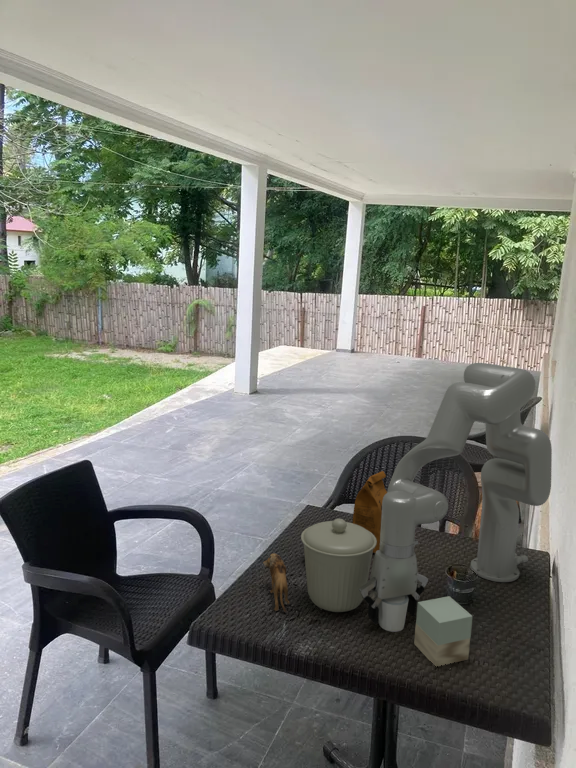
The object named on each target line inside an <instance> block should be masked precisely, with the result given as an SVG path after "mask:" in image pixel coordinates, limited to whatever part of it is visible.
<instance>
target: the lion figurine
mask: <svg viewBox="0 0 576 768" xmlns="http://www.w3.org/2000/svg"><path fill="white" fill-rule="evenodd" d="M262 563H263V565H264V567H265V569H267V570H268V569H269V573H270V577H271V588H272V589H270V591H269V592H270V594H273V596H274V605H275V606H274V608H273V610H274V611H275V612H277V611H279V610H280V607H279V602H280V605H281V607H282V610H283V612H284V613H285V614H288V613H289V612H288V610H287V608H286V607H285V605H289V604H290V601H289V600H288V597H289V596H288V594H289V589H288V581H287V575H286V574H287V566H286V565H285V561H284V560H283V559H282V557H281V556H280V555H279V554H277V553H271V554H270V555H269V557H268V558H267V559H266V560H264V561H263V562H262ZM283 596H284V599H283ZM283 600H284V601H283ZM284 604H285V605H284Z"/></svg>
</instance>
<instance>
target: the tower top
mask: <svg viewBox="0 0 576 768" xmlns="http://www.w3.org/2000/svg"><path fill="white" fill-rule="evenodd" d="M415 619H416V622H415V625H416V624H417V625H418V626H419V627H420V628H421V629H422V630H423V631H424V632H425V633H426V634H427V635H428V636H429V637H430V638H431V639H432V640H433V641H434V642H435V643H436V644H437V645H442V644H447V643H451V642H456V641H460V640H464V639H469V638H470V639H471V637H472V636H471V635H472V627H473V626H472V625H473V615H472V614H471V613H469V611H467V610H466V609H465V608H463V606H461V605H460V604H459V603H458V602H456V600H455V599H453V598H452V597H451V596H442V597H439V598H432V599H427V600H422V601H417V607H416V618H415Z"/></svg>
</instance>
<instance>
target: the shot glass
mask: <svg viewBox="0 0 576 768" xmlns="http://www.w3.org/2000/svg"><path fill="white" fill-rule="evenodd" d="M408 601H409V598H408V596H407V595H404V596H399V597H393V598H388V599H382V600H381V602H380V603H379V604H378V606H377V607H378V608H379V617H378V624H379V626H380V628H382V629H383V630H385V631H387V632H392V633H394V632H395V633H396V632H397V633H398V632H401V631H402V630H403V629H404V628H405V623H406V616H407V613H408V612H407V606H408Z"/></svg>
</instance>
